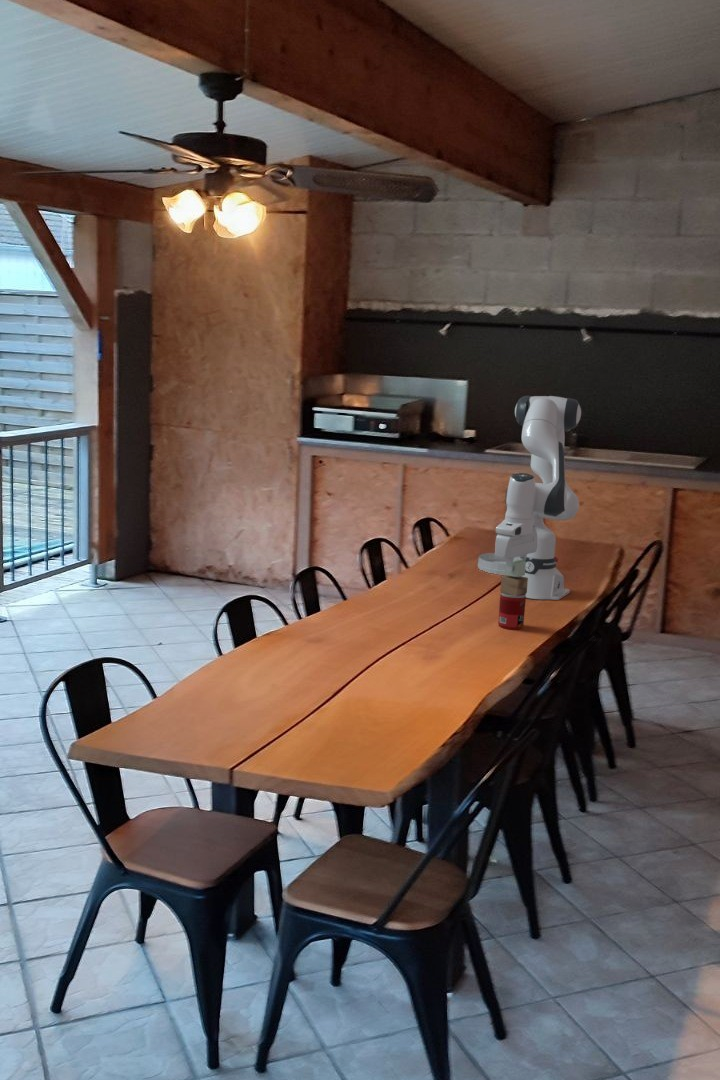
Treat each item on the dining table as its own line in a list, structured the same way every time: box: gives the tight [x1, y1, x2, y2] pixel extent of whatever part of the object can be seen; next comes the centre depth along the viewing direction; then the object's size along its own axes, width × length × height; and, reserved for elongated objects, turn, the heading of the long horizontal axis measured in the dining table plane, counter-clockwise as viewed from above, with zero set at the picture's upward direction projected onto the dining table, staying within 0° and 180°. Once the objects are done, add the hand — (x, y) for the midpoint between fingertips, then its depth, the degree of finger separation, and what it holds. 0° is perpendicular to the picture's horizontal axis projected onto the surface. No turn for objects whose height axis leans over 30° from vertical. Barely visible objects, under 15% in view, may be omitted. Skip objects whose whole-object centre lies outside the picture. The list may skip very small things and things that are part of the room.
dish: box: [477, 552, 519, 576], centre depth 418 cm, size 22×22×5 cm
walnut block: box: [499, 575, 528, 596], centre depth 333 cm, size 6×6×5 cm
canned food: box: [497, 593, 527, 631], centre depth 335 cm, size 8×8×11 cm
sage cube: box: [505, 559, 526, 577], centre depth 332 cm, size 4×4×4 cm
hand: (515, 569), depth 332 cm, fingers closed on sage cube, 4 cm apart
